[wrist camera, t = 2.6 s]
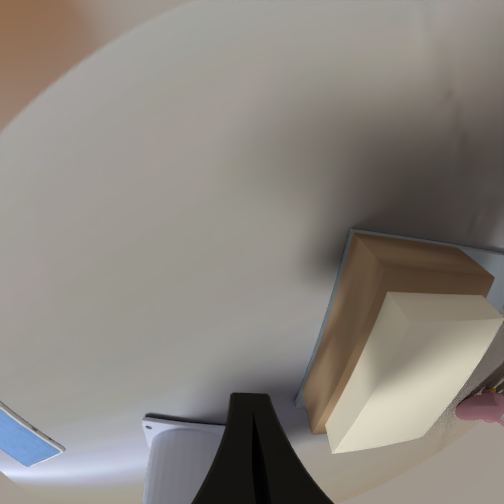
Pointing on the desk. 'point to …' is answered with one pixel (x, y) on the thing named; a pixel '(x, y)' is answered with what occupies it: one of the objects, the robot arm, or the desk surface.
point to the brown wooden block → (379, 305)
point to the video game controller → (483, 407)
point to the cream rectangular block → (411, 368)
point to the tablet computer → (25, 440)
